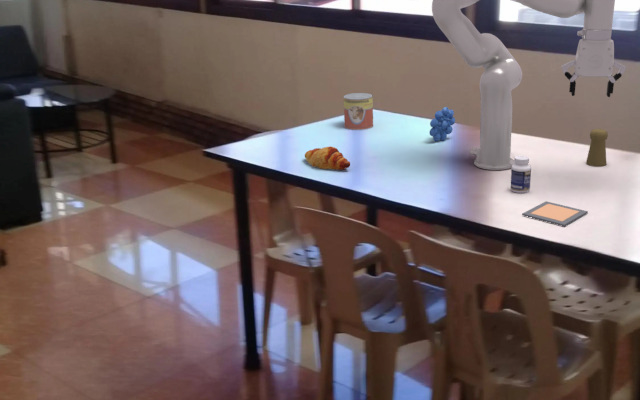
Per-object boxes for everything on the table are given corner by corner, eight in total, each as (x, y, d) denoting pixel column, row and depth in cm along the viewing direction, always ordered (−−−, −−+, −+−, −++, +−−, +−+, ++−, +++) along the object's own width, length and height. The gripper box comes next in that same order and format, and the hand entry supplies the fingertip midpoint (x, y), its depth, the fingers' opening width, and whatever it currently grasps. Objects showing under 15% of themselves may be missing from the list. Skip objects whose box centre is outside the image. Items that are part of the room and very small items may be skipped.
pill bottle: (526, 194, 208) (528, 161, 205) (507, 191, 211) (509, 159, 208) (532, 188, 212) (534, 156, 209) (513, 186, 215) (515, 153, 212)
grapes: (445, 135, 270) (446, 103, 266) (459, 138, 265) (459, 106, 261) (421, 141, 264) (422, 108, 260) (434, 145, 259) (435, 111, 255)
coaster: (522, 215, 193) (522, 213, 193) (545, 203, 201) (546, 201, 201) (564, 226, 185) (564, 224, 185) (587, 213, 193) (587, 211, 193)
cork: (607, 166, 228) (611, 132, 224) (587, 166, 229) (590, 132, 226) (604, 161, 234) (608, 127, 230) (584, 160, 235) (587, 127, 231)
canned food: (342, 130, 284) (341, 99, 280) (346, 122, 294) (345, 93, 290) (371, 130, 282) (371, 99, 278) (374, 122, 292) (374, 92, 288)
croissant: (300, 171, 249) (290, 153, 244) (318, 151, 253) (309, 134, 248) (344, 182, 234) (334, 164, 229) (363, 162, 238) (354, 143, 233)
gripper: (564, 36, 206) (559, 97, 212) (631, 37, 201) (624, 99, 207) (563, 32, 212) (558, 91, 218) (628, 33, 208) (621, 93, 214)
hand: (590, 95), depth 213 cm, fingers open, 9 cm apart
